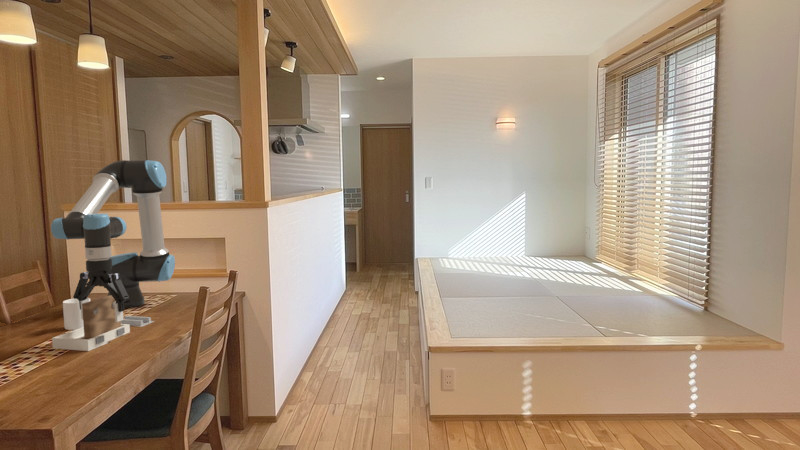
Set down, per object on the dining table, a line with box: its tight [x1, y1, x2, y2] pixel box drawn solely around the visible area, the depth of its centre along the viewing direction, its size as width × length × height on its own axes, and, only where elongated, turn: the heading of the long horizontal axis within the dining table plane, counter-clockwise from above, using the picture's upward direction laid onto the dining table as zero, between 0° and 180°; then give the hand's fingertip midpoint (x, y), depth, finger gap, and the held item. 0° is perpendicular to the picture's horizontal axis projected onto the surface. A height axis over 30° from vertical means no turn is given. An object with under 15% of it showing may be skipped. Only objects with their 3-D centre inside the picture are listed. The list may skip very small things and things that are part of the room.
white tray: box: [51, 324, 131, 352], centre depth 164 cm, size 18×14×4 cm
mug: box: [62, 297, 91, 331], centre depth 179 cm, size 9×12×11 cm
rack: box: [121, 315, 155, 328], centre depth 183 cm, size 7×13×2 cm, turn 79°
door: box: [82, 295, 121, 340], centre depth 163 cm, size 13×3×14 cm, turn 169°
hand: (102, 319), depth 163 cm, fingers open, 13 cm apart
